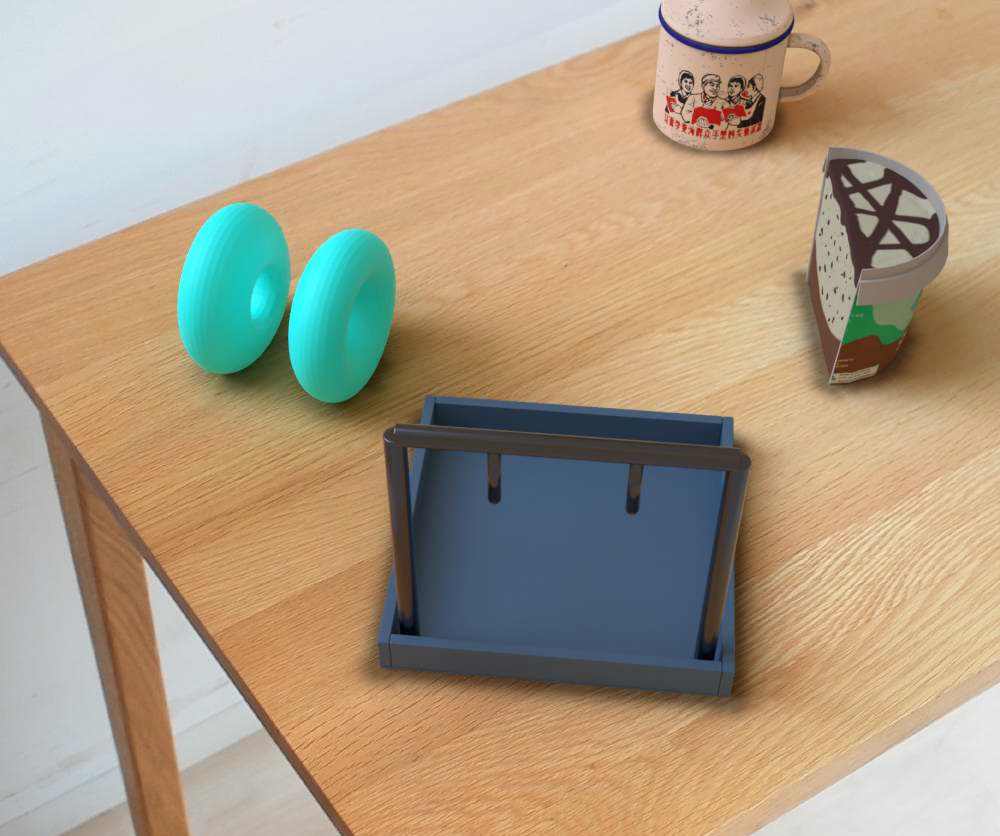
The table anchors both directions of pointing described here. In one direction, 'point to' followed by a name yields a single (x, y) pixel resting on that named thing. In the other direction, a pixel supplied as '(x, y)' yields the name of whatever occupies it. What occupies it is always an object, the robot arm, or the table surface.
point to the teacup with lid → (727, 70)
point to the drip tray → (564, 556)
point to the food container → (871, 258)
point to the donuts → (263, 297)
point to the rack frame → (572, 449)
